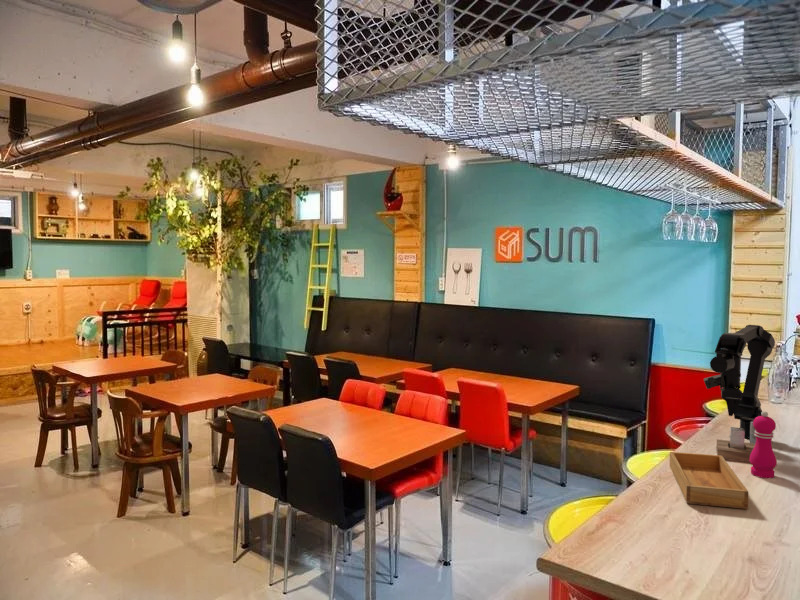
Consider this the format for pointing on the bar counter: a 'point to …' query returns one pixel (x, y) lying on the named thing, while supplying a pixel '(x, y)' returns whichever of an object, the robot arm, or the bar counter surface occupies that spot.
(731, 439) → the square bit
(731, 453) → the bore block
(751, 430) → the round bit
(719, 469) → the tray
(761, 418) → the pepper mill
